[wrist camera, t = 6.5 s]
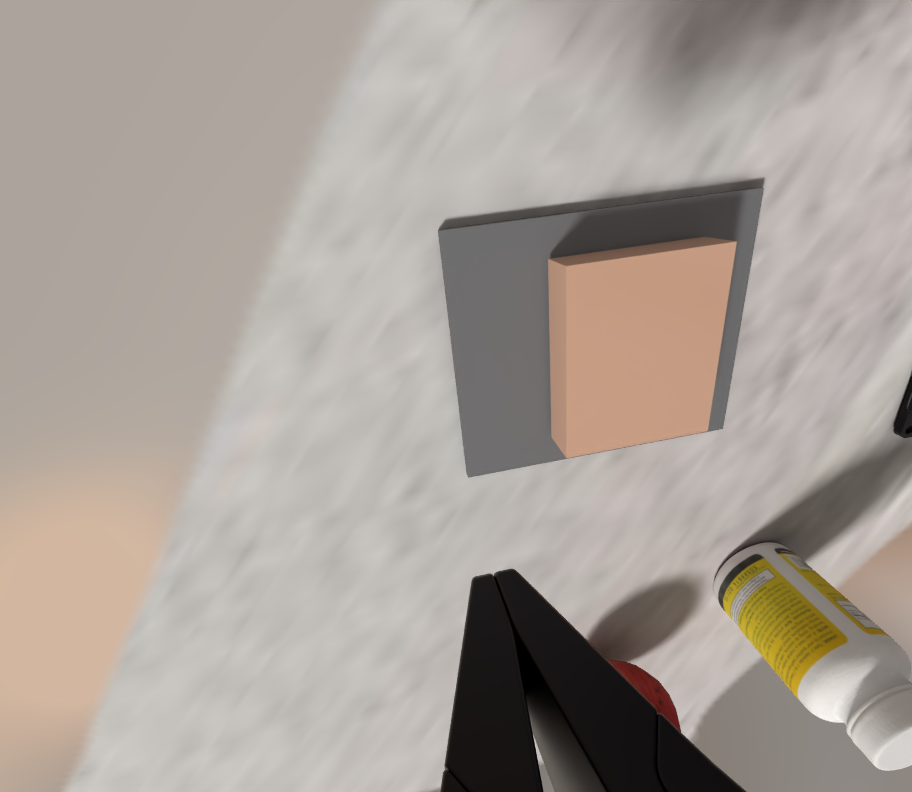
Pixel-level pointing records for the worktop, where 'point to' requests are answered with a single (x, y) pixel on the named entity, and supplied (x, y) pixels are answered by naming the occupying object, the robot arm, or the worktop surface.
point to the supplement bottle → (822, 649)
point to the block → (636, 342)
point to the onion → (649, 689)
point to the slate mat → (527, 311)
